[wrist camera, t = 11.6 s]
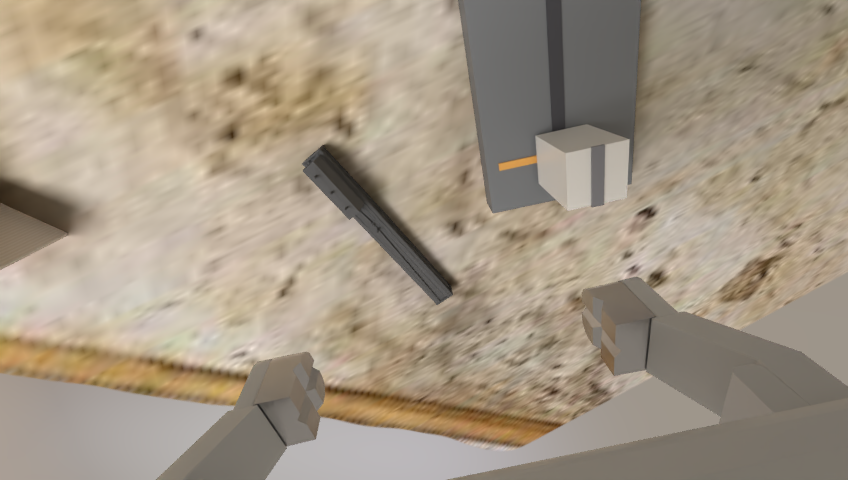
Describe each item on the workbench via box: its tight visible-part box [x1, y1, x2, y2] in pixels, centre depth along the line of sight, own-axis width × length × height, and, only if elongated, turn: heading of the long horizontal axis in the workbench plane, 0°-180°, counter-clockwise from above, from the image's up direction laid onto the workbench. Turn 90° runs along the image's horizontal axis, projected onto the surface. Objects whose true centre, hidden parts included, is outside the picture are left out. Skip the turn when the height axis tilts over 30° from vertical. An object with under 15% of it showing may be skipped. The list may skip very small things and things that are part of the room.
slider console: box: [458, 0, 641, 213], centre depth 27 cm, size 22×12×3 cm, turn 12°
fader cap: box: [535, 124, 630, 211], centre depth 26 cm, size 4×4×6 cm
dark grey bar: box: [302, 145, 453, 305], centre depth 33 cm, size 19×3×4 cm, turn 38°
